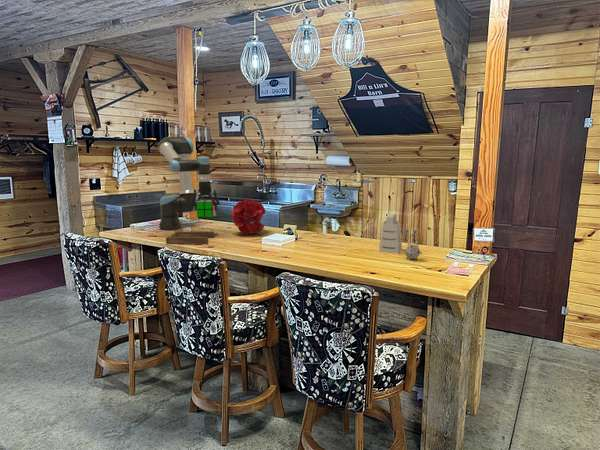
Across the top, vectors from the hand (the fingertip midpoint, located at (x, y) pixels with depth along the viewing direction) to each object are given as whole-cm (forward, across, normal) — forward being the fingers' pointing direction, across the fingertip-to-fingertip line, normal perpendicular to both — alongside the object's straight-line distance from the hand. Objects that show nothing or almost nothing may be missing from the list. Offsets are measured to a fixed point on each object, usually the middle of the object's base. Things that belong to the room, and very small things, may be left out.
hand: (206, 215), depth 277 cm
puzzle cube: (+1, 0, 0) cm, 1 cm away
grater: (+14, +110, -44) cm, 119 cm away
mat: (+13, 0, 0) cm, 13 cm away
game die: (+14, +117, -63) cm, 134 cm away
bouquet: (+13, +28, +8) cm, 32 cm away
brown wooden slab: (+13, -6, -16) cm, 22 cm away
